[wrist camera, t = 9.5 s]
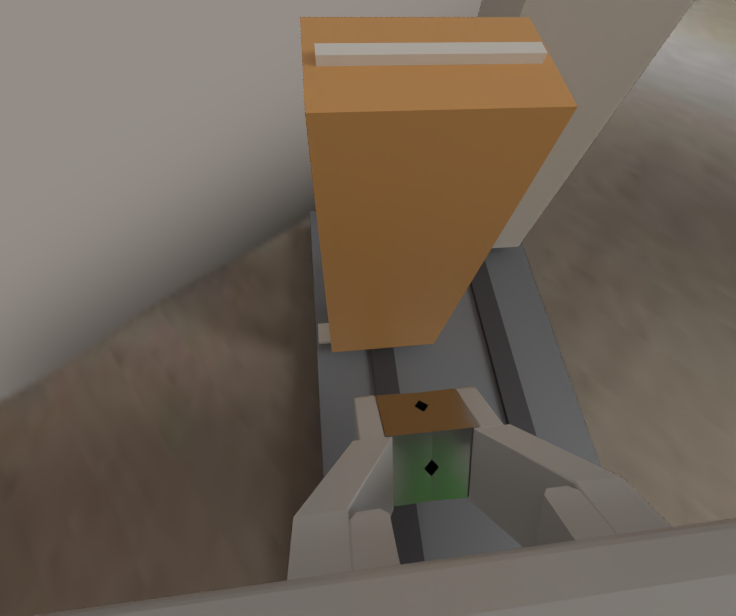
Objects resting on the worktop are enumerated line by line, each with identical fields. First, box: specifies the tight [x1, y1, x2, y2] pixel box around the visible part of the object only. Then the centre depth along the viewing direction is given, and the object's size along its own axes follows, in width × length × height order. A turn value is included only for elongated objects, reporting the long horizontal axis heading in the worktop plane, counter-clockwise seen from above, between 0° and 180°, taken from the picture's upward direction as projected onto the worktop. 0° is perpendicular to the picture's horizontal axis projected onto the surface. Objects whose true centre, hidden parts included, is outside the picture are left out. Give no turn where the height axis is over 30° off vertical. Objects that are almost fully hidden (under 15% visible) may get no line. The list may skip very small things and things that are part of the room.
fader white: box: [478, 0, 694, 248], centre depth 12 cm, size 2×4×10 cm, turn 96°
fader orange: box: [300, 17, 578, 352], centre depth 10 cm, size 2×4×10 cm, turn 96°
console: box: [310, 211, 601, 564], centre depth 14 cm, size 22×10×1 cm, turn 6°
